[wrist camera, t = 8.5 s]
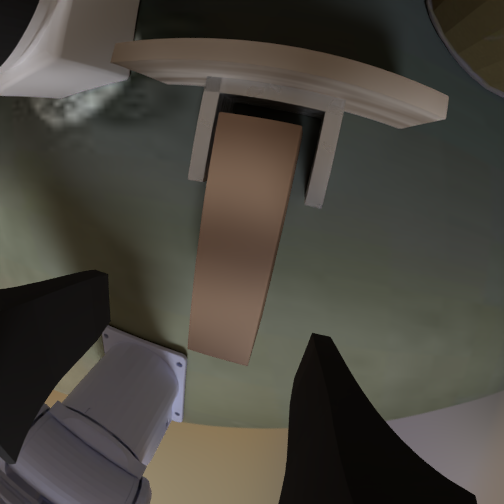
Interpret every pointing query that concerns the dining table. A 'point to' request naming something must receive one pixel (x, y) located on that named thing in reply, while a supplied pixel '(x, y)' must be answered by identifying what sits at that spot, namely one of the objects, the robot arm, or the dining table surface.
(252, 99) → the bracket
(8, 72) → the medicine bottle
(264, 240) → the brown wooden block
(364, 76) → the wall plate
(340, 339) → the dining table surface
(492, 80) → the canister
